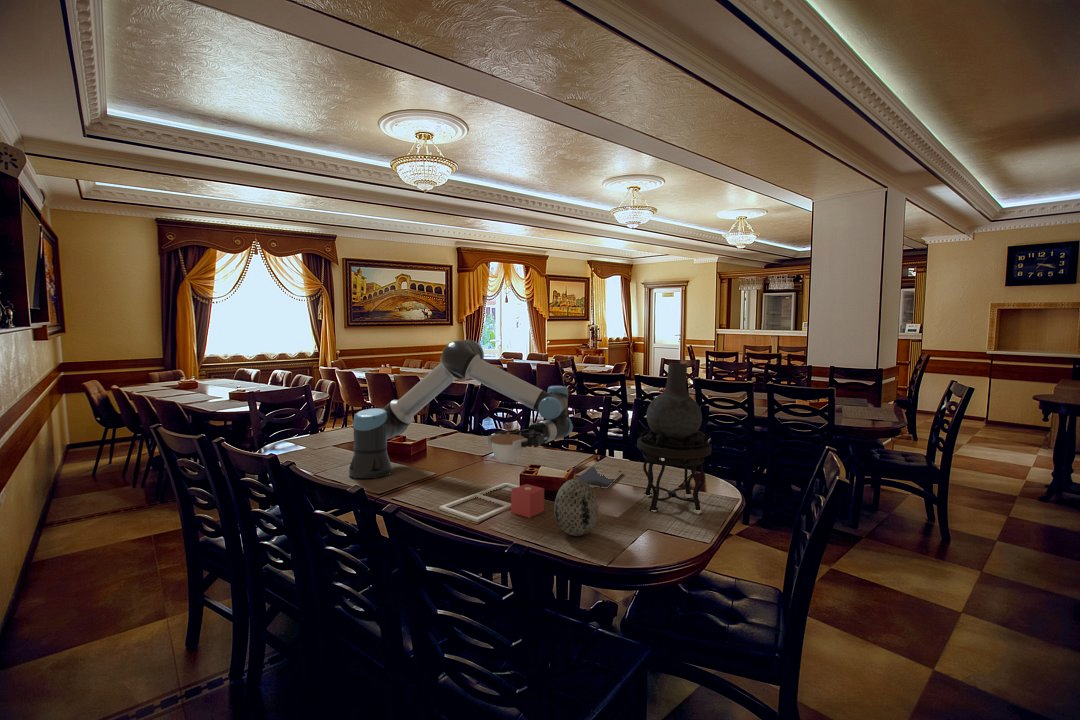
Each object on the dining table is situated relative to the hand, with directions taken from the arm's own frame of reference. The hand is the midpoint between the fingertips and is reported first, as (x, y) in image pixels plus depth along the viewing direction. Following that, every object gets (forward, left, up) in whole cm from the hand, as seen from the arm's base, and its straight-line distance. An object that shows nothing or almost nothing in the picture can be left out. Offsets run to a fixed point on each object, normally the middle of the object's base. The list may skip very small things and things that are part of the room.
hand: (499, 443), depth 158 cm
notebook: (-28, +31, -19) cm, 46 cm away
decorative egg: (+23, +27, -18) cm, 39 cm away
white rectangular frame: (+3, -1, -18) cm, 18 cm away
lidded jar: (-4, +2, -7) cm, 8 cm away
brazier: (-6, +55, -18) cm, 58 cm away
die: (+9, +11, -18) cm, 23 cm away
